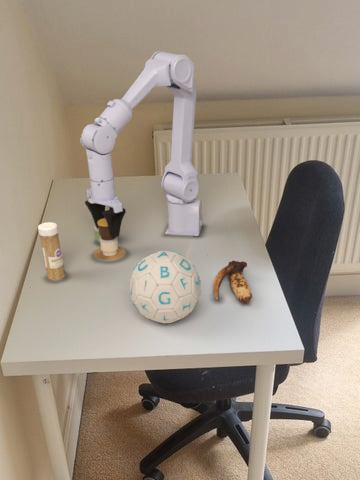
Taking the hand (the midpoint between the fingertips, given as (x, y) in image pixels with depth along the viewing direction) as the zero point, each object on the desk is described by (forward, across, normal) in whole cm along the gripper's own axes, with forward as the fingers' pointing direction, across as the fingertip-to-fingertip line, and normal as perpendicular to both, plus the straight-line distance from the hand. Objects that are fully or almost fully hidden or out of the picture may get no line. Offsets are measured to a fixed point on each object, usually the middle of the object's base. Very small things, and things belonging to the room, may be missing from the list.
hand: (107, 231), depth 151 cm
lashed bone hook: (+7, +35, +13) cm, 38 cm away
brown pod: (+2, 0, 0) cm, 2 cm away
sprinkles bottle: (+7, +3, -17) cm, 18 cm away
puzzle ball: (+7, +36, -6) cm, 37 cm away
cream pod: (+6, 0, 0) cm, 6 cm away
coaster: (+6, 0, 0) cm, 6 cm away
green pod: (+6, -8, +3) cm, 11 cm away
